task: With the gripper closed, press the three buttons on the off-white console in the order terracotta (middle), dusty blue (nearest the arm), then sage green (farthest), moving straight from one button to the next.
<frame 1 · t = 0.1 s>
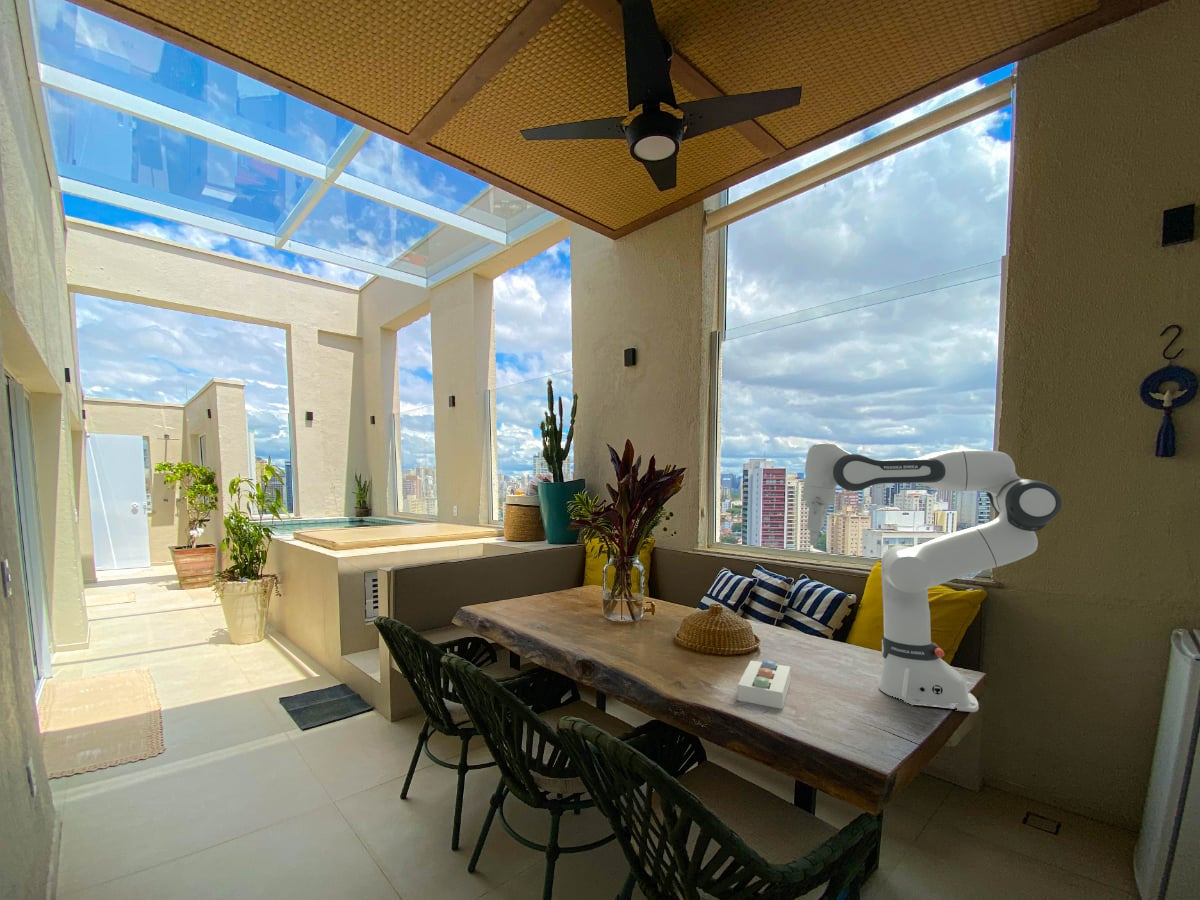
hand: (814, 543, 151), 39 cm above the table, tool pointing down, fingers open, 8 cm apart
button console: (765, 690, 139), on the table
terracotta button: (765, 675, 139), point 4 cm above the table, slide at 0.0 cm
blue button: (768, 667, 145), point 4 cm above the table, slide at 0.0 cm
sage button: (761, 685, 133), point 4 cm above the table, slide at 0.0 cm
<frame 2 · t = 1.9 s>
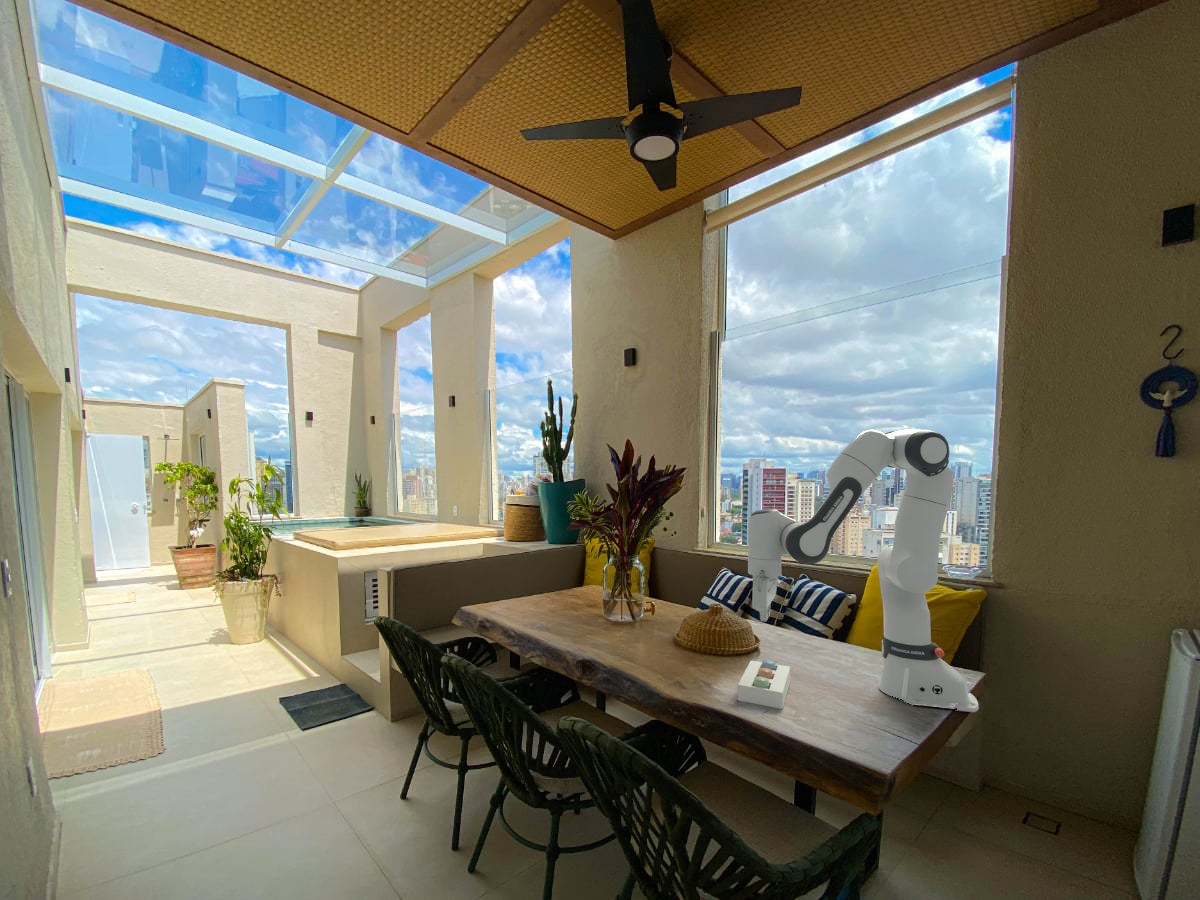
hand: (765, 618, 140), 19 cm above the table, tool pointing down, fingers open, 3 cm apart
nothing on the table moved.
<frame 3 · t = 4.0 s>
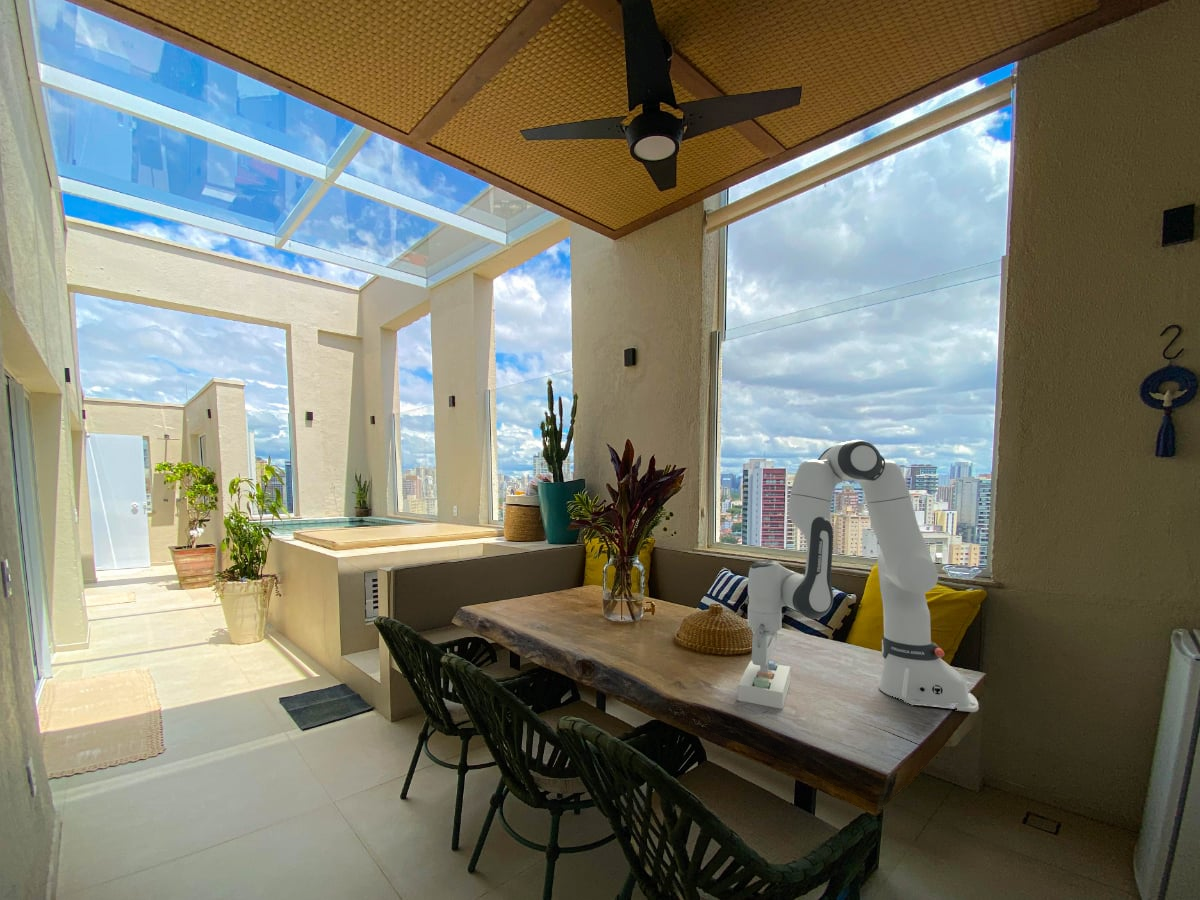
hand: (764, 671, 139), 5 cm above the table, tool pointing down, fingers closed, pressing on terracotta button
terracotta button: (765, 677, 139), point 3 cm above the table, slide at 0.5 cm, touching gripper
everything else where it was.
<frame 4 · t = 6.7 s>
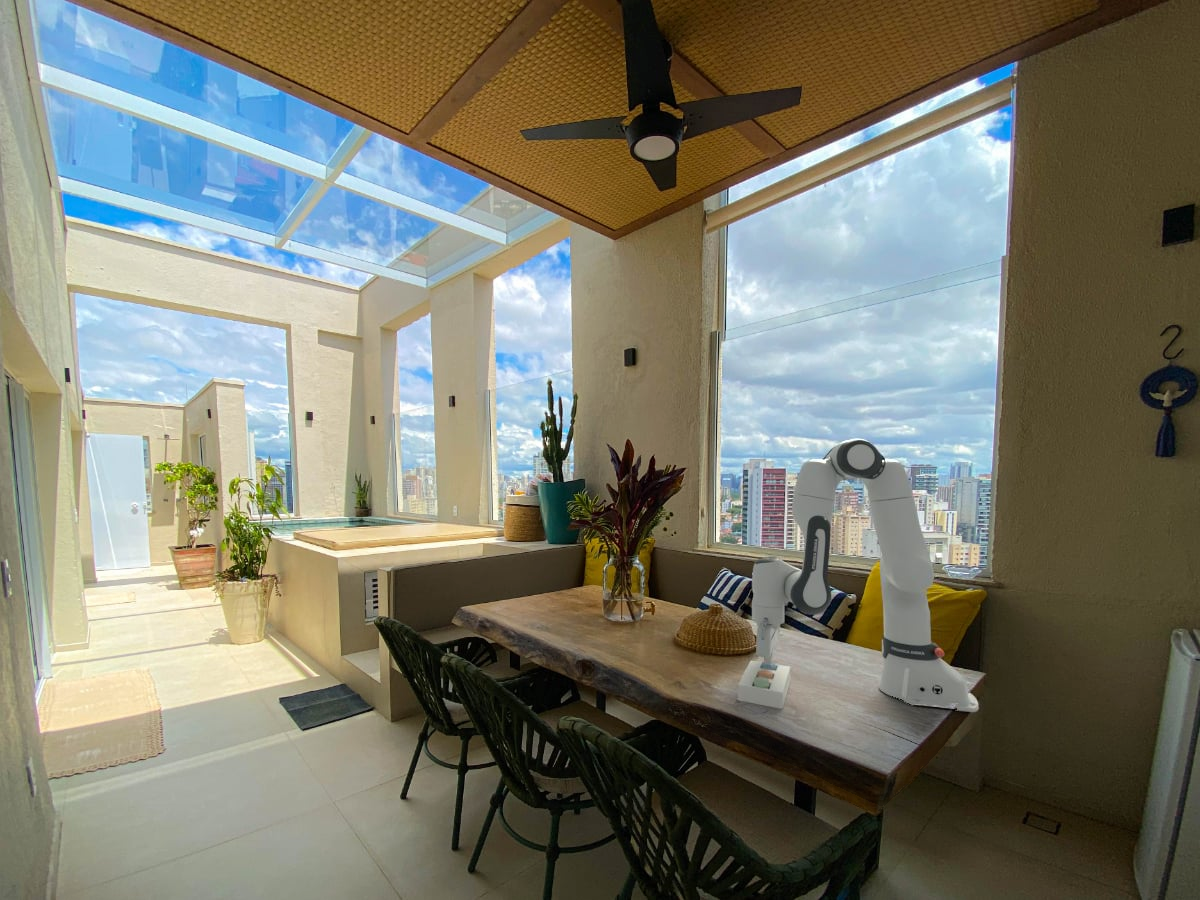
hand: (768, 663, 145), 5 cm above the table, tool pointing down, fingers closed, pressing on blue button
terracotta button: (765, 678, 139), point 3 cm above the table, slide at 0.7 cm
blue button: (768, 669, 145), point 3 cm above the table, slide at 0.5 cm, touching gripper
everything else where it was.
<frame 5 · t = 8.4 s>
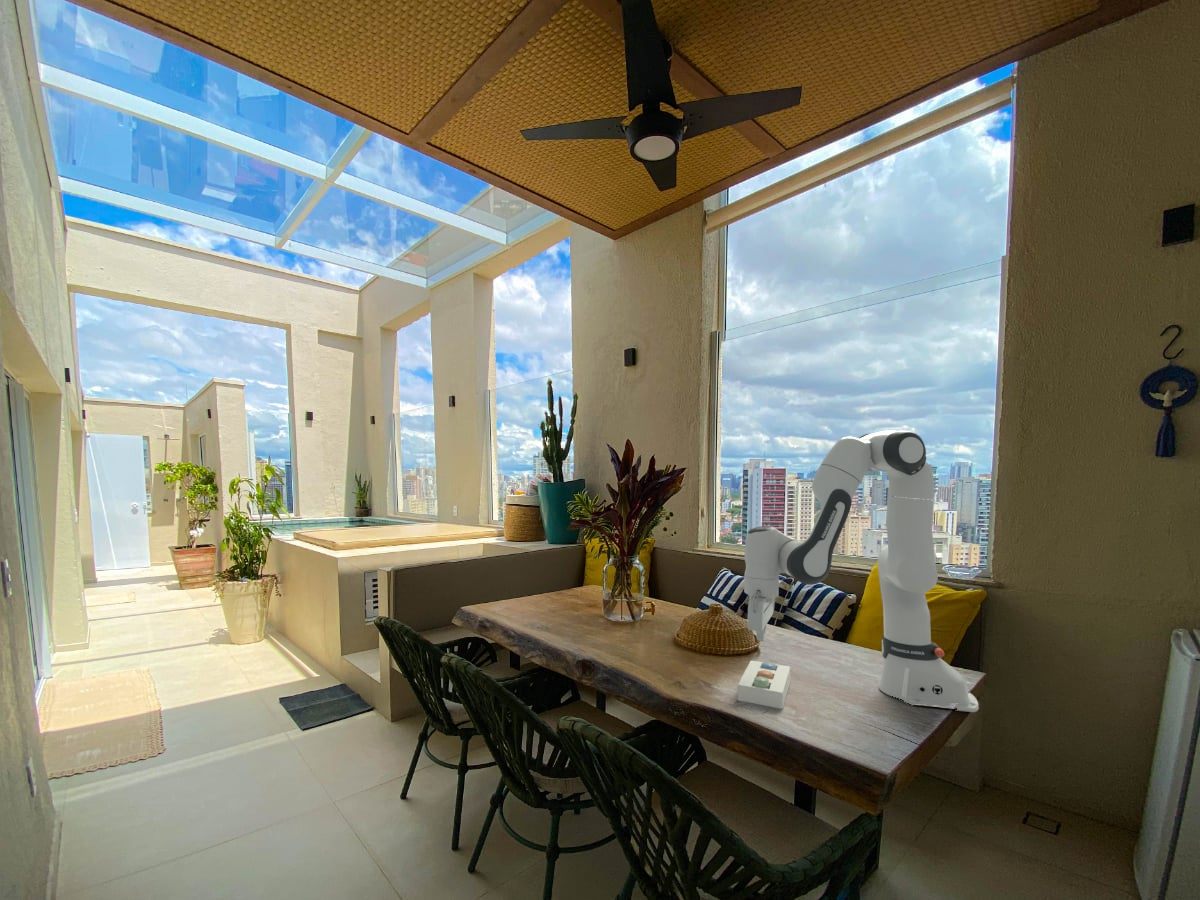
hand: (760, 639, 136), 15 cm above the table, tool pointing down, fingers closed
blue button: (768, 669, 145), point 3 cm above the table, slide at 0.7 cm
everything else where it was.
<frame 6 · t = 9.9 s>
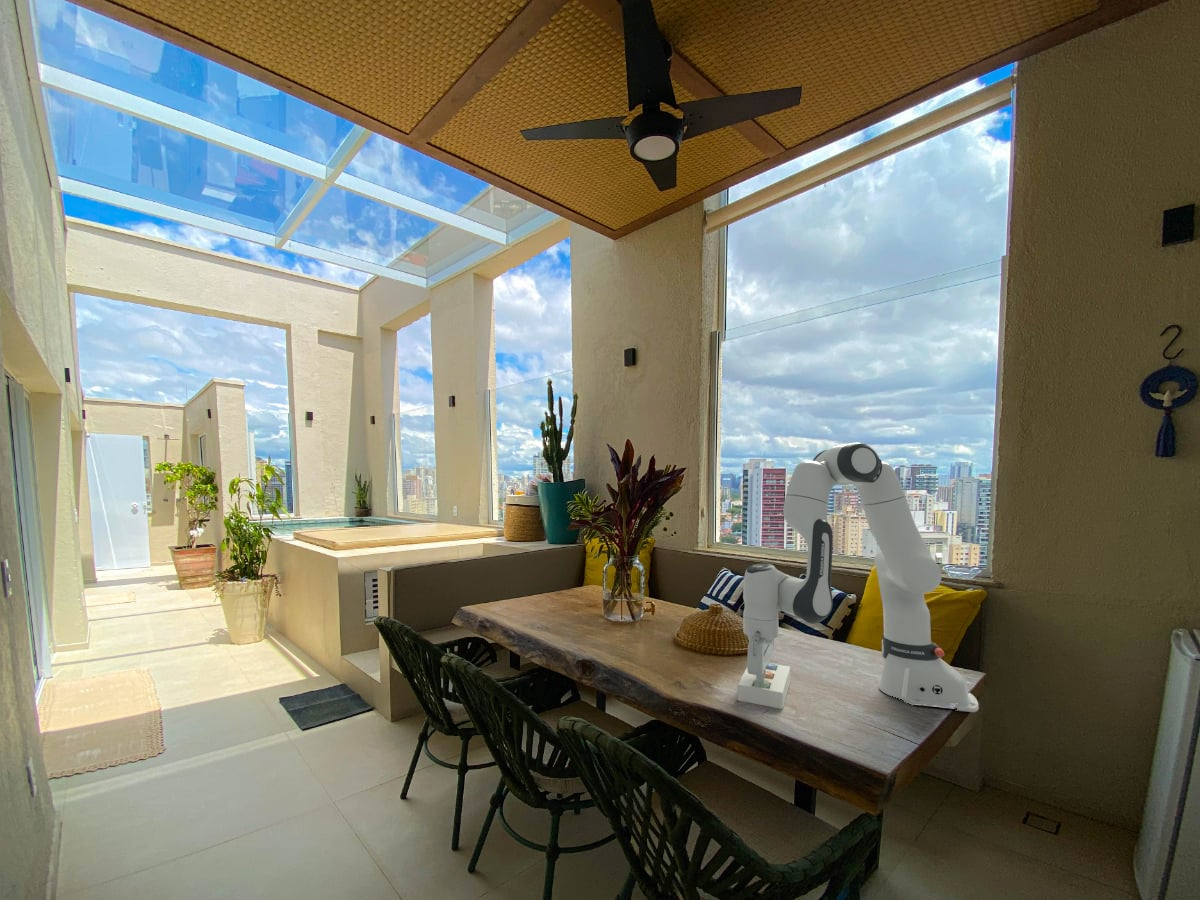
hand: (760, 681, 133), 5 cm above the table, tool pointing down, fingers closed, pressing on sage button
sage button: (761, 687, 133), point 3 cm above the table, slide at 0.6 cm, touching gripper
everything else where it was.
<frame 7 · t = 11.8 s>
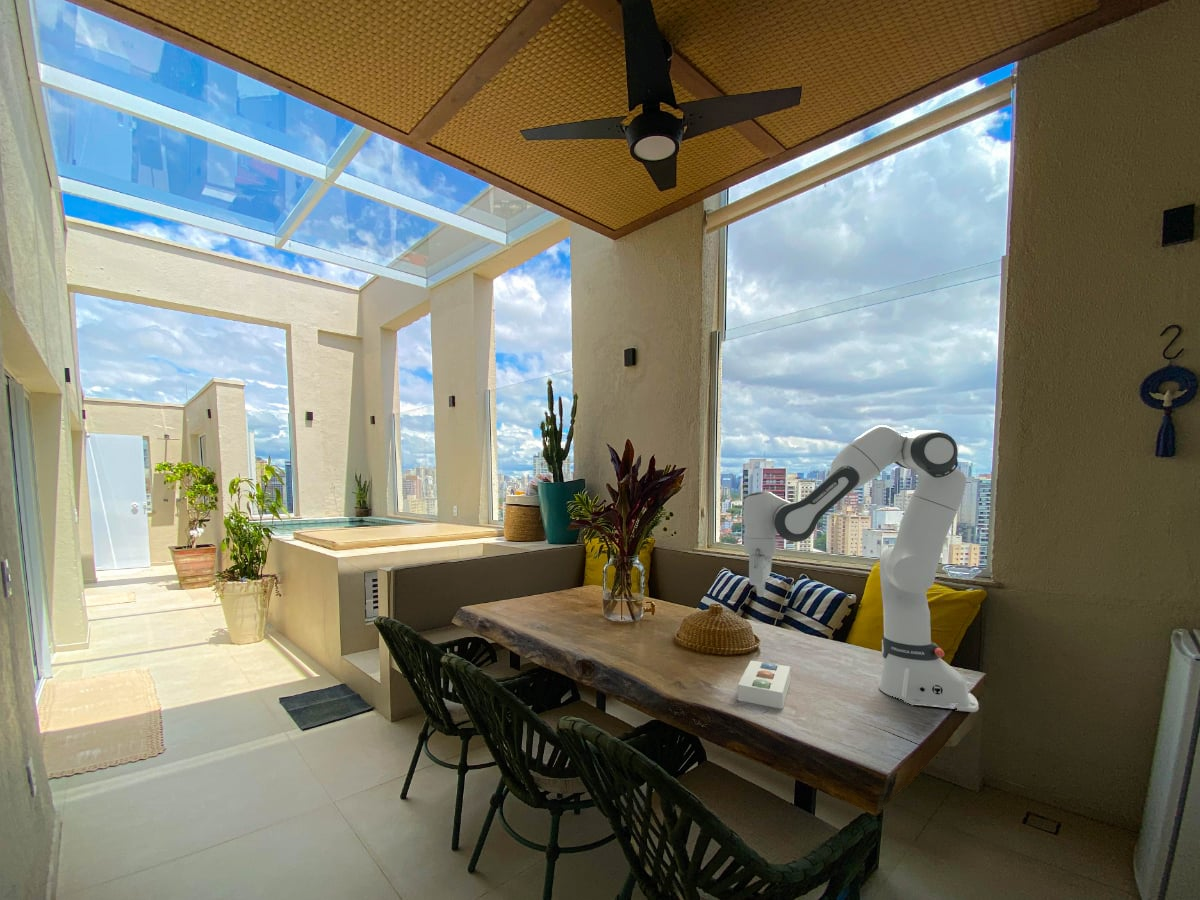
hand: (761, 595, 147), 24 cm above the table, tool pointing down, fingers closed
sage button: (761, 687, 133), point 3 cm above the table, slide at 0.7 cm
everything else where it was.
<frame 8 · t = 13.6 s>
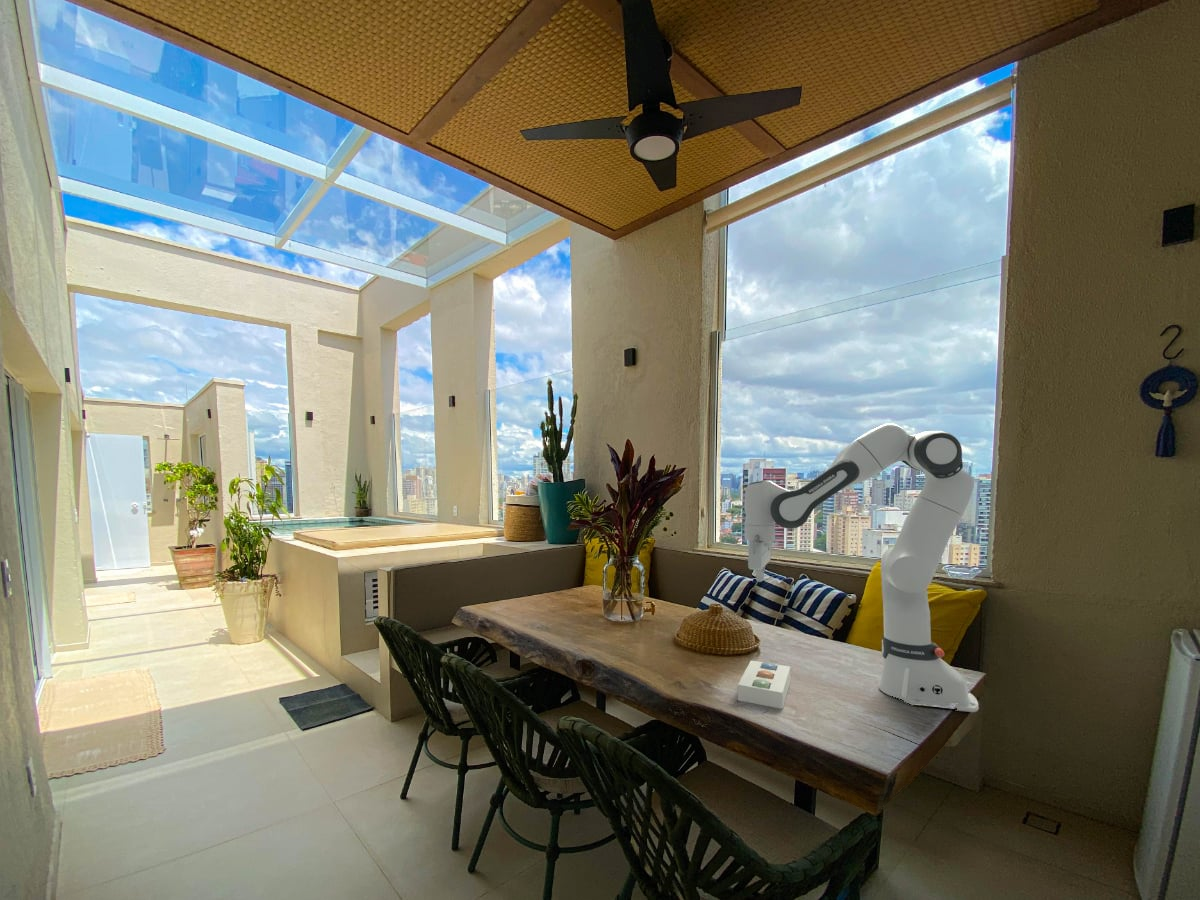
hand: (760, 580, 152), 27 cm above the table, tool pointing down, fingers closed
nothing on the table moved.
at the end: terracotta button slide at 0.7 cm; blue button slide at 0.7 cm; sage button slide at 0.7 cm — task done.
